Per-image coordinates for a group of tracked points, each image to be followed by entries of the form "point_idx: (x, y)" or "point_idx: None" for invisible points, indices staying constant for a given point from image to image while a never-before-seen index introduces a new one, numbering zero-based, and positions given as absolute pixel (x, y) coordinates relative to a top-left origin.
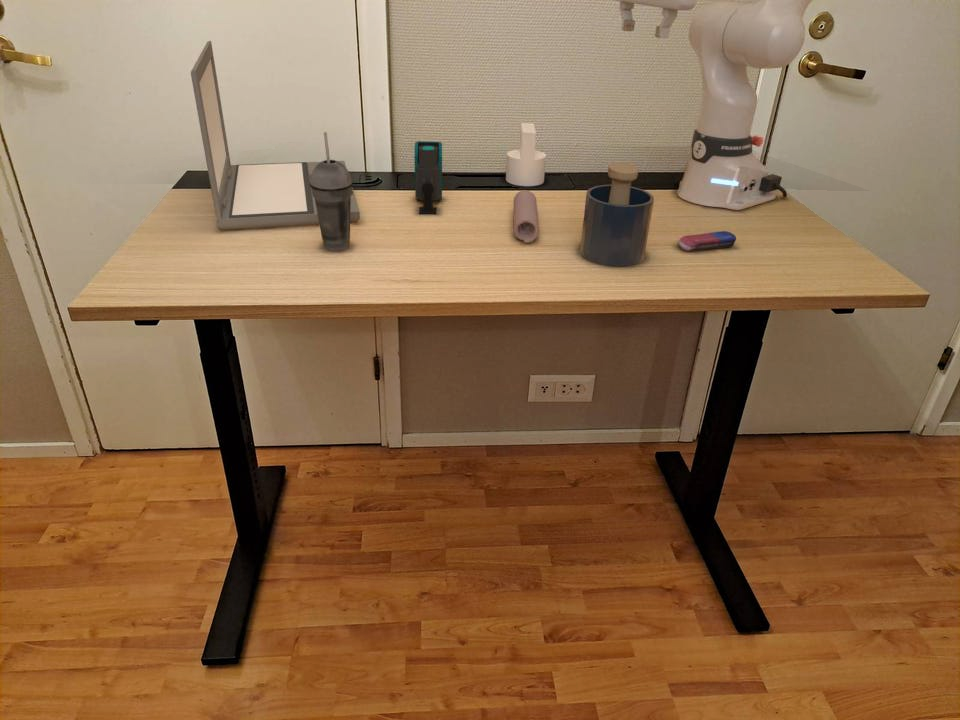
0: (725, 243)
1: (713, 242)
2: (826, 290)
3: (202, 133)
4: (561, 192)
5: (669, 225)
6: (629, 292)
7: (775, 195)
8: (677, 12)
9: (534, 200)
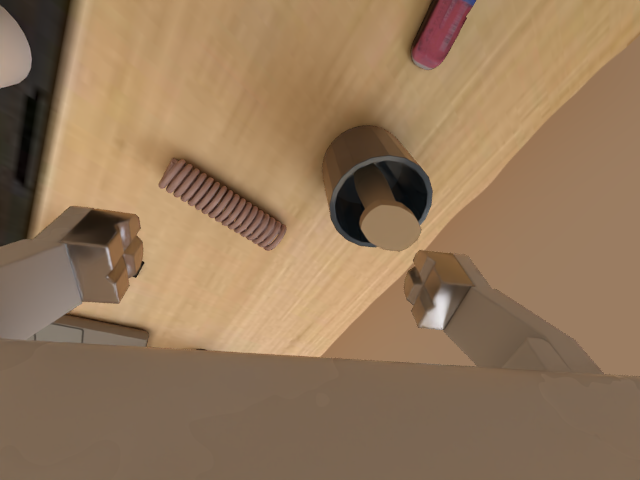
0: None
1: (464, 20)
2: None
3: None
4: (87, 25)
5: None
6: (437, 221)
7: None
8: (593, 361)
9: (199, 183)
